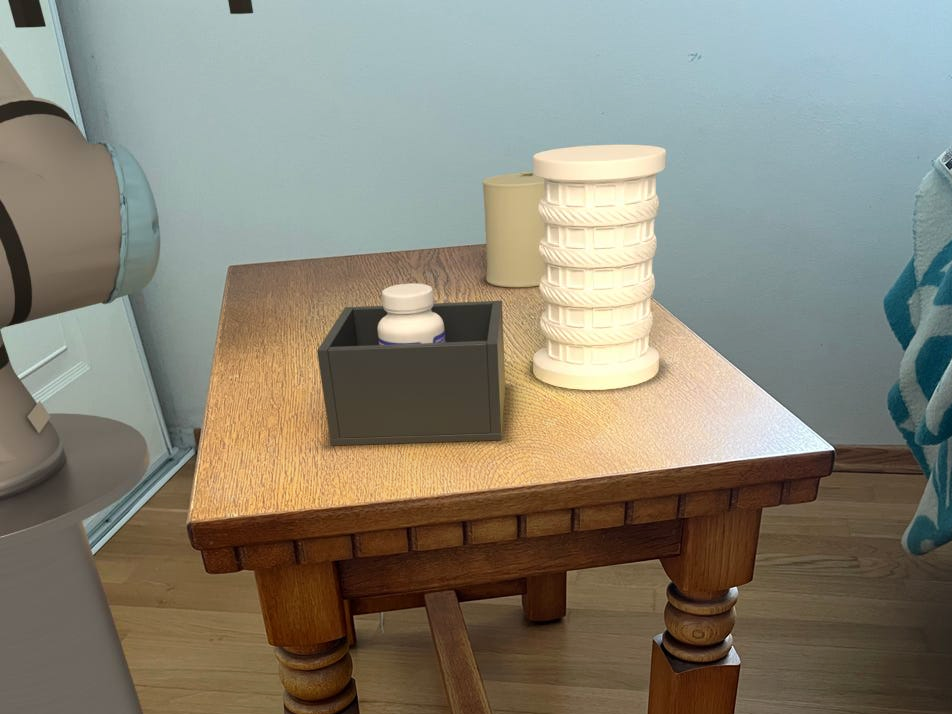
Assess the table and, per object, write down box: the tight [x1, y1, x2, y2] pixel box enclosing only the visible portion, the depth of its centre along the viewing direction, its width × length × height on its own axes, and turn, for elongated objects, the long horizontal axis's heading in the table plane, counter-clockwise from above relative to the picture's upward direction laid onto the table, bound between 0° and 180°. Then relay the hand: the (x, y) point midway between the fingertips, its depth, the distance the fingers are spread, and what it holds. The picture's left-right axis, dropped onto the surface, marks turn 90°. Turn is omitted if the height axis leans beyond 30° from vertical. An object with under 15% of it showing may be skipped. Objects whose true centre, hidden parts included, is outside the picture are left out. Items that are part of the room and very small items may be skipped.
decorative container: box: [532, 144, 667, 391], centre depth 82 cm, size 12×12×18 cm
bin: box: [316, 300, 506, 447], centre depth 77 cm, size 14×13×8 cm
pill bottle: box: [378, 282, 446, 345], centre depth 76 cm, size 5×5×10 cm
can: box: [482, 171, 545, 288], centre depth 115 cm, size 9×9×12 cm
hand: (136, 21), depth 59 cm, fingers open, 13 cm apart
